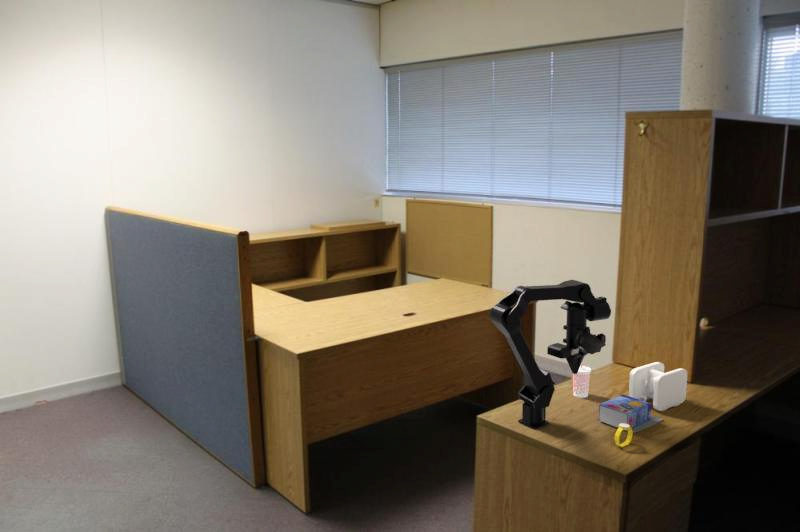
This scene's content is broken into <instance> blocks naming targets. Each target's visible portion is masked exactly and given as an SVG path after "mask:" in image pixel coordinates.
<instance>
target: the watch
mask: <svg viewBox="0 0 800 532" xmlns="http://www.w3.org/2000/svg"><path fill="white" fill-rule="evenodd" d="M624 429H625V430H626V429H628V432H627V436H626V439H625V440H624V442H622V443H620V437H621V435H622V432H623V431H624ZM633 434H634V433H633V431H632V429H631V427H630V425H628V424H625V423H621V424H619V428H616V431H615V434H614V443H615V445H616V446H618V447H620V448H624V447H626V446H629V445H630V444H631V442H632V439H633Z"/></svg>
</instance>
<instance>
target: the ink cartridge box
mask: <svg viewBox="0 0 800 532" xmlns="http://www.w3.org/2000/svg"><path fill="white" fill-rule="evenodd" d="M651 409H652V403H650V402H648V401H647V400H646V401H643V400H640V399H636V398H633V397H630V396H629V395H626V394H620V395H618V396H615V397H614V398H611V399H609V400H606V401H603V402H601V403H599V404H598V418H599V420H598V421H599V422H602V423H604V424H606V423H607V424H606V425H609V424H610V425H609V426H611V425H612V426H611V427H614V426H615V427H614V428H616V427H618V428H619V424H621V423H625V424H628V425H630V427H631V429H632V428H634V427H636V426H638V425H640V424H642V423H644V422H646V421H648V420H650V414H651V415H652V413H651V412H652V411H651ZM618 428H617V429H618ZM624 430H625V429H624ZM624 430H623V431H624ZM626 431H628V429H626ZM626 431H625V432H626Z"/></svg>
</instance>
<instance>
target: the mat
mask: <svg viewBox="0 0 800 532" xmlns="http://www.w3.org/2000/svg"><path fill="white" fill-rule="evenodd" d="M597 421H599V417H598V418H597ZM664 421H665V419H664V418H661V417H659V416H656V415H654V414H652V413H651V414H650V420H648V421H646V422H644V423H642V424H640V425H638V426H636V427H634V428H632V431H633V434H635V433H638V432H640V431H643V430H645V429H648V428H649V427H652V426H655V425H657V424H659V423H662V422H664ZM605 424H606V425H609V426H611V427H614V428H616V429H618V427H615V426H612V425H610V424H607V423H605ZM623 431H624V432H627V433H628V431H626V430H623Z"/></svg>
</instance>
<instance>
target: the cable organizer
mask: <svg viewBox="0 0 800 532" xmlns="http://www.w3.org/2000/svg"><path fill="white" fill-rule="evenodd" d="M687 384H688V370H686V369H685V368H682V367H680V368H679V367H678V368H676V369H673V370H670V371H667V372H665V364H664V363H662V362H660V361H654V362H652V363H647V364H645V365H641V366H638V367H634V368H633V369H632V370H631V371H630V372H629V385H628V396H630V397H633V398H636V399H640V400H643V401H646V402H647V400H650V399H652V407H653V409H654V410H656V411H659V412H663V411H664V412H665V411H666V410H668V409H670V408H672V407H677V406H680V405H681V404H683V403H684V402H685V400H686V398H687V397H686V396H687Z"/></svg>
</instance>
